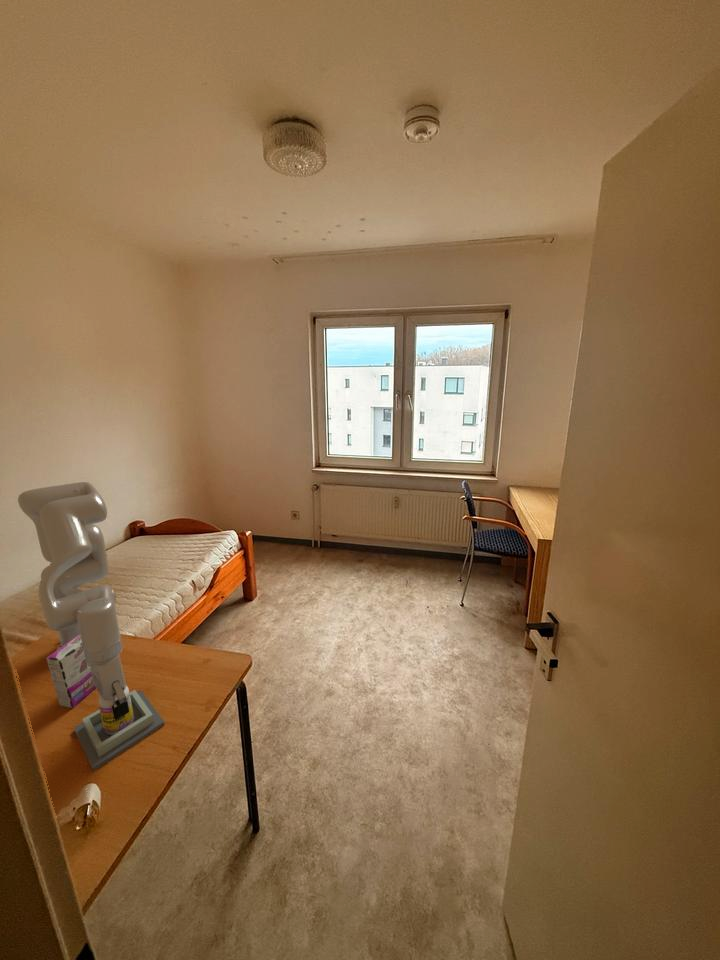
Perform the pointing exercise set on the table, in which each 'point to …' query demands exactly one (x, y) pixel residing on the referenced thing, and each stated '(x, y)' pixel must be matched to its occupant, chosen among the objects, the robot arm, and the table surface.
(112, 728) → the supplement bottle
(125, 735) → the tray
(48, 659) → the candy bar box
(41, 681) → the table surface
